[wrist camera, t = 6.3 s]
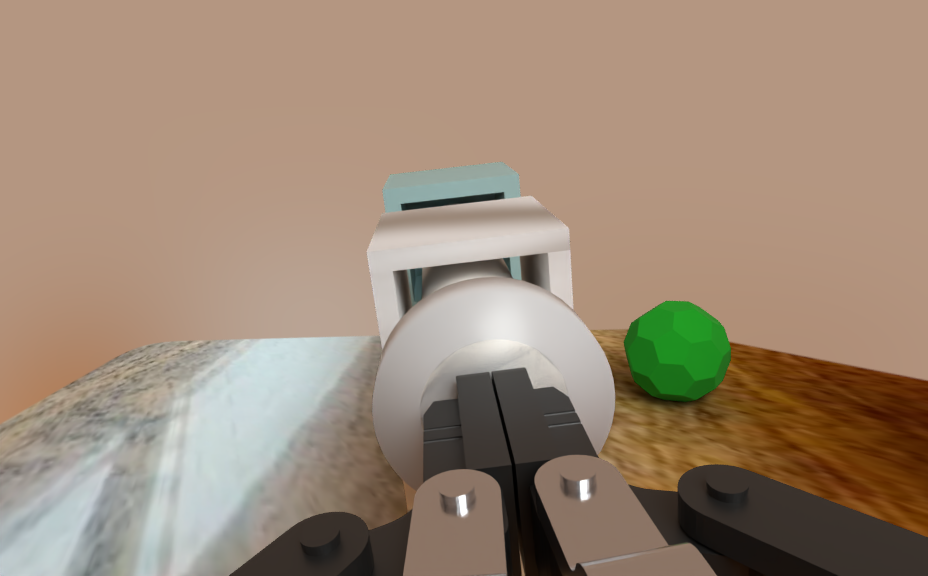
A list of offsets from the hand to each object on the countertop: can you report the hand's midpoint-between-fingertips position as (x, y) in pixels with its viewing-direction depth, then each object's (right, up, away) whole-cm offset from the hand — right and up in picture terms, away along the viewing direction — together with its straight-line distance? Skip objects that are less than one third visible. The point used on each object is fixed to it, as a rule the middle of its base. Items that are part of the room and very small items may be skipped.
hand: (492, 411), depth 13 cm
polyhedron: (+10, -3, +18) cm, 21 cm away
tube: (0, 0, +9) cm, 9 cm away
